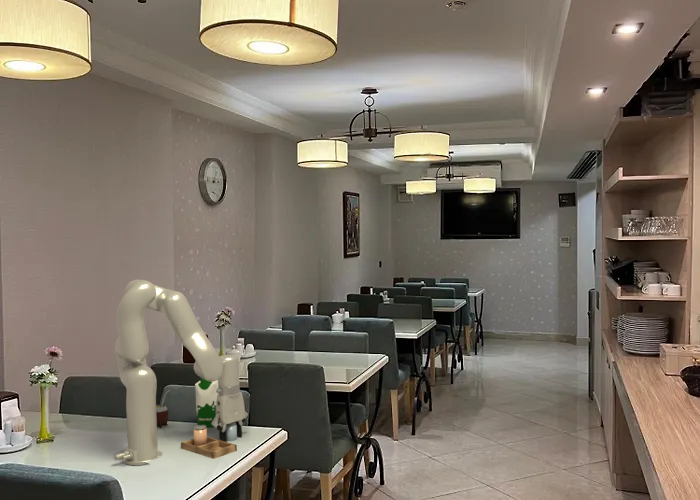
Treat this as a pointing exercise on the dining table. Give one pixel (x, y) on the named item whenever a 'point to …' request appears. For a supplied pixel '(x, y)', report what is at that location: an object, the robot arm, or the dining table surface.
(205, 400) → the milk carton
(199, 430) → the pepper shaker
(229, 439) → the salt shaker
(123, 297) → the robot arm
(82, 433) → the dining table surface
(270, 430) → the dining table surface
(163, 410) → the mate gourd
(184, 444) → the caddy
